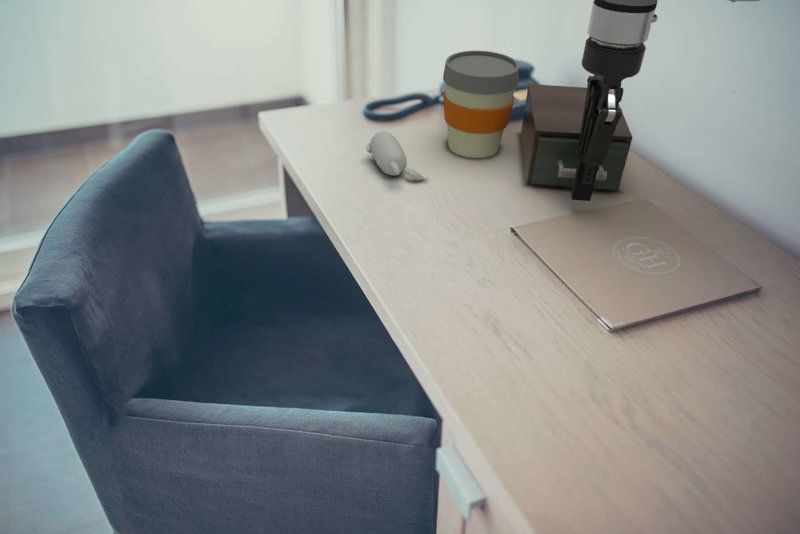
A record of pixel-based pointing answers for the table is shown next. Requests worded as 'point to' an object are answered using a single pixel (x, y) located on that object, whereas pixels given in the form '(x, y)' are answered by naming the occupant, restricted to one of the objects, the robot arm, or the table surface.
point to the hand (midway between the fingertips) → (580, 198)
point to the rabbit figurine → (390, 155)
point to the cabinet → (558, 121)
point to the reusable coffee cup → (478, 100)
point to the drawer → (574, 163)
